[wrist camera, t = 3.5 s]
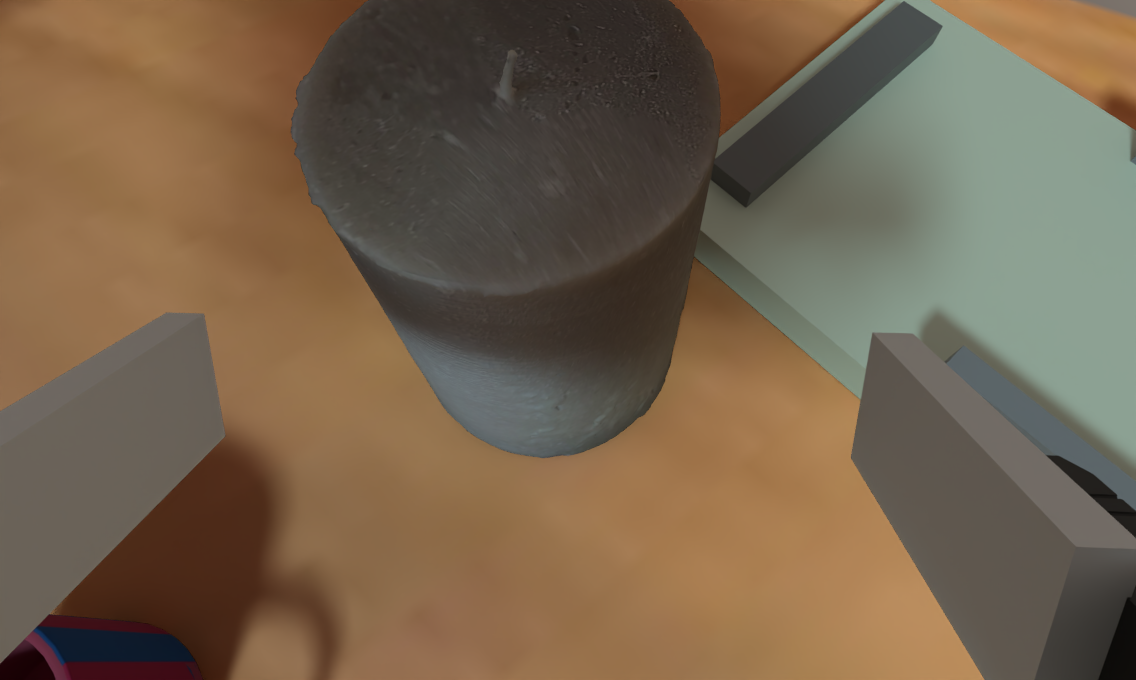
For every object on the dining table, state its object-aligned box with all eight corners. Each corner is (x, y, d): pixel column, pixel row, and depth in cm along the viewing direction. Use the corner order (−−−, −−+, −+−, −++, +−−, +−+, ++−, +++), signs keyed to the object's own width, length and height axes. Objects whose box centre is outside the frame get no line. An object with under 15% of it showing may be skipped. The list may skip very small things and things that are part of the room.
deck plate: (650, 219, 31) (660, 151, 27) (887, 19, 35) (927, -66, 31) (1247, 731, 23) (1389, 746, 19) (1464, 396, 27) (1620, 349, 23)
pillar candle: (642, 217, 31) (676, -134, 17) (696, 439, 27) (796, 211, 14) (412, 255, 31) (263, -73, 17) (434, 485, 27) (263, 299, 13)
